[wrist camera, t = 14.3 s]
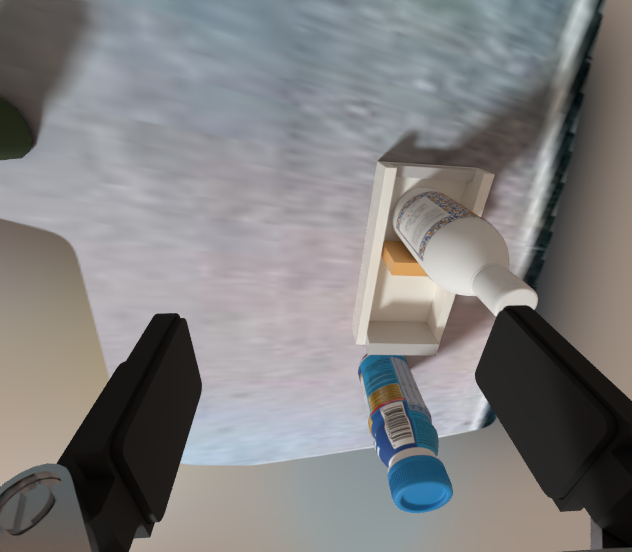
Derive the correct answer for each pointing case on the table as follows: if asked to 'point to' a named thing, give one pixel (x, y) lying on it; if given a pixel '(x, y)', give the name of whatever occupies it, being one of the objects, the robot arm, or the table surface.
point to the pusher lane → (407, 291)
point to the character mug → (13, 133)
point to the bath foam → (459, 249)
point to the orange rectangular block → (400, 260)
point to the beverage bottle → (403, 434)
